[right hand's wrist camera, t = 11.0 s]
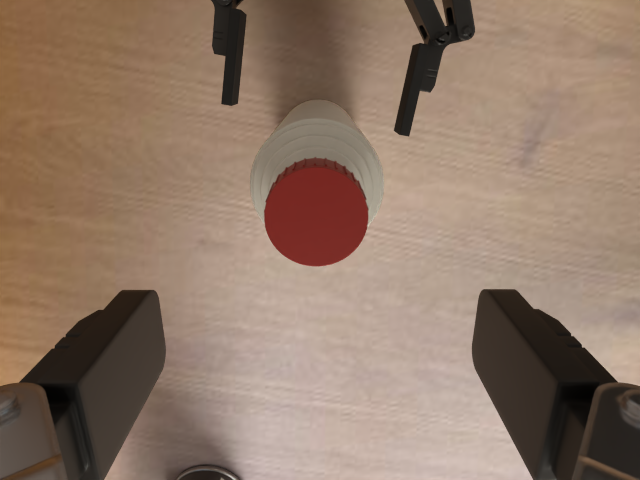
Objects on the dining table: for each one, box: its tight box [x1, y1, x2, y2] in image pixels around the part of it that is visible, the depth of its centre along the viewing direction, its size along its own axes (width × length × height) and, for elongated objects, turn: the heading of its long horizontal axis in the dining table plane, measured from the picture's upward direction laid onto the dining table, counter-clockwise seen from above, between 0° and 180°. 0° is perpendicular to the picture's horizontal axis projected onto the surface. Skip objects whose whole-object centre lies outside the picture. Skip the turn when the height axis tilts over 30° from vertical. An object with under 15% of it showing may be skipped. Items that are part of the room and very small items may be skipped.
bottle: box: [250, 99, 384, 227], centre depth 31 cm, size 7×7×24 cm
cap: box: [264, 157, 369, 266], centre depth 20 cm, size 4×4×2 cm
